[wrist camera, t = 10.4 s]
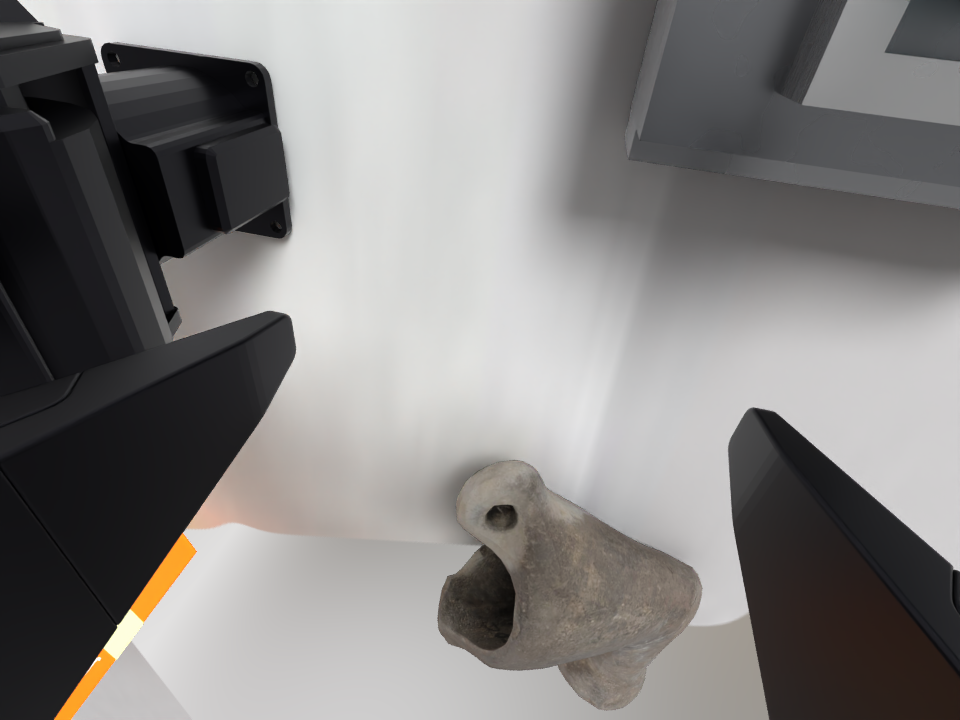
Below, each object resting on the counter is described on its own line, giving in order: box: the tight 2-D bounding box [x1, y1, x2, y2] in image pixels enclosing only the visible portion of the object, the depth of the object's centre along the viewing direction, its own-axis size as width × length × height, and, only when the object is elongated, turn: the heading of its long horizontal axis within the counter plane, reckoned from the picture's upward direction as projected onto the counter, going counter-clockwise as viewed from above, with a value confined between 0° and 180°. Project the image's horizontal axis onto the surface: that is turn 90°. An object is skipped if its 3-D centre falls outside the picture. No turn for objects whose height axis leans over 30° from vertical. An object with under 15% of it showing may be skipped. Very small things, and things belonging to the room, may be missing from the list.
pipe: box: [438, 460, 702, 711], centre depth 27 cm, size 16×9×15 cm
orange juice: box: [54, 533, 197, 720], centre depth 32 cm, size 8×9×20 cm
